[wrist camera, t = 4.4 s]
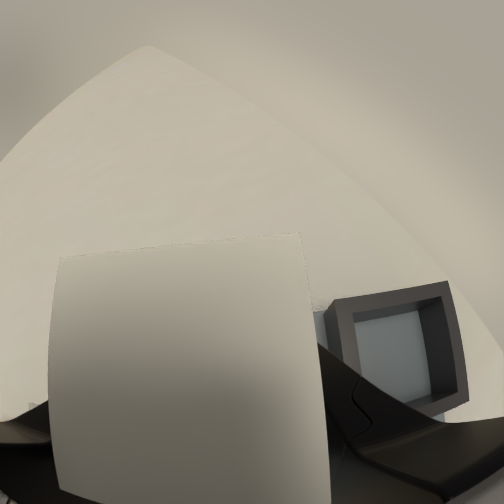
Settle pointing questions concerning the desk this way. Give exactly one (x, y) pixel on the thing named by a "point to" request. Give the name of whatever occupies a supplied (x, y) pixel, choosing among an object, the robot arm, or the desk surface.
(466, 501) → the robot arm
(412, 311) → the board
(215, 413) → the plug
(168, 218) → the desk surface
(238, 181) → the desk surface
